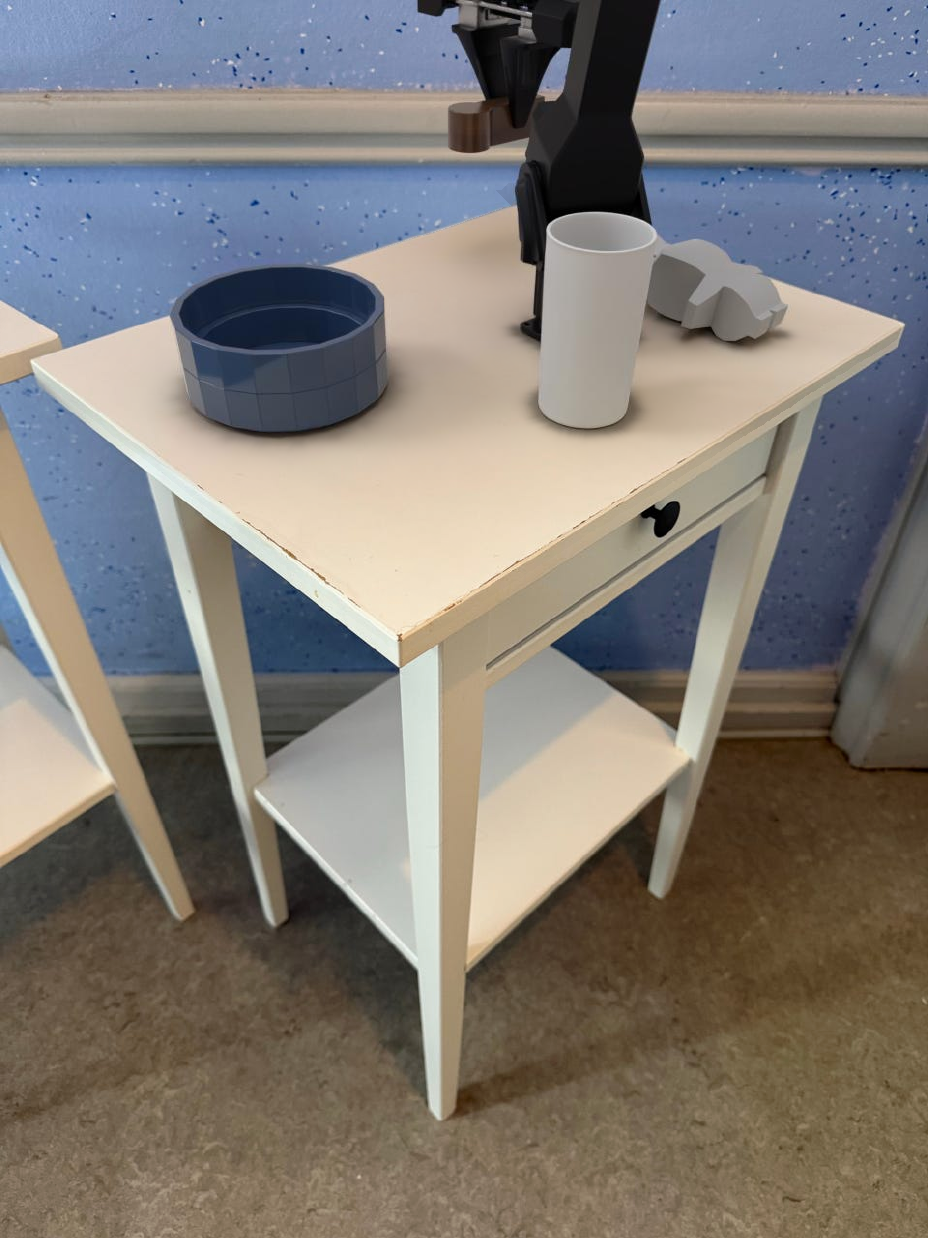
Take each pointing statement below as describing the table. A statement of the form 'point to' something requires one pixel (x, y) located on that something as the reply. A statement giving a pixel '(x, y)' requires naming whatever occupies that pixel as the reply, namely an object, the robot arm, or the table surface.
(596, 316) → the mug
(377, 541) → the table surface
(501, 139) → the brown round-ended block
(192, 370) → the bowl
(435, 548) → the table surface
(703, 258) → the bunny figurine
